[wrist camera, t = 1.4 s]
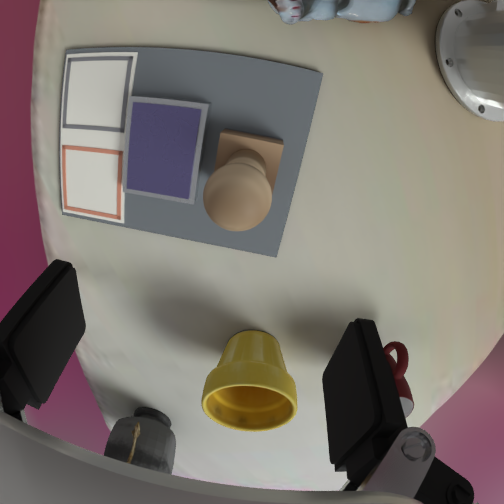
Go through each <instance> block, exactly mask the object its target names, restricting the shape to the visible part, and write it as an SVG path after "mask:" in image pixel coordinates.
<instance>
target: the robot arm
mask: <svg viewBox="0 0 504 504" xmlns="http://www.w3.org/2000/svg"><path fill="white" fill-rule="evenodd" d="M436 53H437V60H438V63H439V67H440V70H441V73H442V75H443V78H444V80H445V82H446V84H447V86H448V87H449V89H450V91H451V92H452V94H453V95H454V97H455V98H456V99H457V100H458V101H459V103H460V104H461V105H462V106H464V107H465V108H466V109H467V110H468V111H469V112H471V113H473V114H474V115H476V116H478V117H481V118H483V119H486V120H490V121H504V0H494V1H491V3H486V2H483V1H480V0H465V1H461V2H458V3H455V4H453V5H452V6H450V7H449V8H448V9H446V11H445V12H444V13H443V15H442V16H441V18H440V21H439V23H438V26H437V31H436ZM446 61H447V64H446ZM85 328H86V324H85V319H84V314H83V309H82V304H81V299H80V293H79V287H78V281H77V275H76V270H75V268H73V267H72V264H71V263H70V262H66V261H62V260H58V259H56V260H54V261H53V262H52V263H51V264H50V265H49V266H48V267H47V268H46V270H45V271H44V272H43V273H42V274H41V275H40V276H39V277H38V278H37V280H36V281H35V282H34V283H33V284H32V285H31V286H30V287H29V289H28V290H27V291H26V292H25V293H24V294H23V295H22V297H21V298H20V299H19V300H18V301H17V303H16V304H15V305H14V306H13V307H12V309H11V310H10V311H9V312H8V313H7V315H6V316H5V317H4V318H3V320H2V321H1V323H0V504H474V503H473V500H474V491H473V487H472V486H471V484H470V482H469V481H468V480H466V479H465V478H464V477H462V476H461V475H459V474H458V473H457V472H455V471H454V470H453V469H451V468H450V467H448V466H447V465H445V464H444V463H443V462H442V461H440V460H438V459H437V458H436V457H435V451H436V450H435V443H434V441H433V439H432V437H431V436H430V434H428V433H427V432H426V431H425V430H423V429H421V428H418V427H407V423H406V419H405V415H404V411H403V408H402V404H401V400H400V397H399V393H398V390H397V386H396V383H395V379H394V376H393V372H392V369H391V366H390V364H389V362H388V361H387V359H386V356H385V353H384V350H383V347H382V343H381V340H380V337H379V334H378V331H377V328H376V325H375V322H374V321H373V320H368V319H360V318H357V319H356V320H355V321H354V322H350V323H349V325H348V327H347V329H346V331H345V333H344V335H343V337H342V338H341V340H340V342H339V344H338V346H337V348H336V350H335V352H334V354H333V356H332V358H331V360H330V361H329V363H328V365H327V367H326V369H325V371H324V373H323V378H322V382H323V391H324V401H325V411H326V421H327V432H328V443H329V456H330V462H331V464H335V472H342V471H347V479H348V480H347V482H346V483H345V484H344V485H343V487H342V488H341V489H340V490H339V491H295V490H275V489H261V488H250V487H241V486H233V485H225V484H218V483H212V482H206V481H200V480H195V479H189V478H184V477H180V476H175V475H170V474H166V473H162V472H158V471H154V470H150V469H146V468H142V467H139V466H135V465H132V464H128V463H125V462H122V461H118V460H115V459H112V458H109V457H106V456H103V455H100V454H97V453H95V452H91V451H89V450H86V449H83V448H81V447H78V446H76V445H73V444H71V443H68V442H66V441H63V440H61V439H59V438H56V437H54V436H52V435H50V434H47V433H45V432H43V431H41V430H39V429H37V428H34V427H32V426H30V425H28V424H27V421H26V416H25V412H24V408H25V406H26V404H28V405H30V406H32V407H34V408H36V409H39V408H40V406H41V404H42V403H46V401H47V400H48V398H49V396H50V394H51V392H52V390H53V388H54V386H55V384H56V383H57V381H58V379H59V376H60V375H61V373H62V371H63V370H64V368H65V366H66V364H67V362H68V360H69V359H70V357H71V355H72V353H73V352H74V350H75V348H76V346H77V345H78V343H79V341H80V339H81V338H82V336H83V334H84V332H85ZM476 504H478V503H476Z"/></svg>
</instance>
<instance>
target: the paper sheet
mask: <svg viewBox="0 0 504 504" xmlns="http://www.w3.org/2000/svg"><path fill="white" fill-rule="evenodd" d="M137 55H138V52H100V53H79V54H67V57H66V65H65V74H64V84H63V96H62V111H61V189H62V205H63V212H67V213H72V214H77V215H82V216H87V217H92V218H98V219H103V220H108V221H113V222H118V223H123V224H124V200H125V192H123V167H124V150H125V136H126V124H127V113H128V104H129V96H132V90H133V82H134V75H135V68H136V62H137Z"/></svg>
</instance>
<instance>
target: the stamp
mask: <svg viewBox="0 0 504 504" xmlns="http://www.w3.org/2000/svg"><path fill="white" fill-rule="evenodd" d="M283 147H284V142H283V139H279V138H274V137H269V136H264V135H259V134H254V133H249V132H244V131H239V130H233V129H227V128H225V129H224V130H223V131H222V132H221V133H220V139H219V144H218V150H217V156H216V163H215V169H214V173H213V174H212V175H211V176H210V177H209V178H208V180H207V182H206V184H205V187H204V191H203V203H204V207H205V210H206V212H207V214H208V216H209V217H210V219H211V220H212V221H213V222H214V223H215V224H217V225H218V226H220V227H221V228H223V229H226V230H230V231H245V230H249V229H251V228H253V227H255V226H257V225H258V224H259V223H261V222H262V221H263V220H264V218H265V217H266V215H267V214H268V212H269V210H270V207H271V203H272V194H273V190H274V186H275V181H276V177H277V173H278V168H279V164H280V160H281V156H282V151H283Z"/></svg>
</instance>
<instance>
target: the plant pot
mask: <svg viewBox="0 0 504 504" xmlns="http://www.w3.org/2000/svg"><path fill="white" fill-rule="evenodd" d="M202 408H203V410H204V412H205V414H206V415H207V416H208V417H209V418H210V419H212V420H213V421H215V422H216V423H218V424H220V425H223V426H225V427H228V428H231V429H235V430H241V431H253V432H256V431H267V430H272V429H275V428H278V427H281V426H283V425H285V424H287V423H288V422H290V421H291V420H292V419H293V418H294V416H295V415H296V412H297V393H296V385H295V382H294V380H293V378H292V377H291V376H290V375H289V374H288V373H287V370H286V367H285V363H284V360H283V357H282V353H281V350H280V346H279V343H278V342H277V340H276V339H275V338H274V337H273V336H271V335H269V334H267V333H265V332H262V331H256V330H249V331H243V332H240V333H237V334H236V335H234V336H233V337H232V338H231V339H230V340H229V341H228V343H227V346H226V348H225V350H224V352H223V354H222V357H221V359H220V361H219V363H218V365H217V367H216V368H215V369H213V370H212V371H211V372H210V373H209V375H208V376H207V379H206V382H205V386H204V390H203V395H202Z"/></svg>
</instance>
